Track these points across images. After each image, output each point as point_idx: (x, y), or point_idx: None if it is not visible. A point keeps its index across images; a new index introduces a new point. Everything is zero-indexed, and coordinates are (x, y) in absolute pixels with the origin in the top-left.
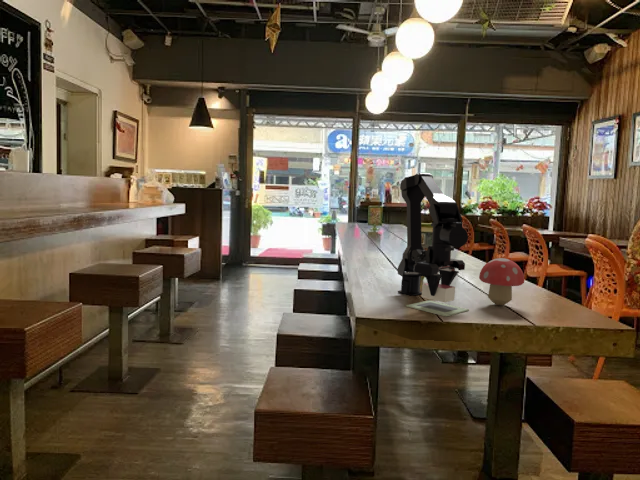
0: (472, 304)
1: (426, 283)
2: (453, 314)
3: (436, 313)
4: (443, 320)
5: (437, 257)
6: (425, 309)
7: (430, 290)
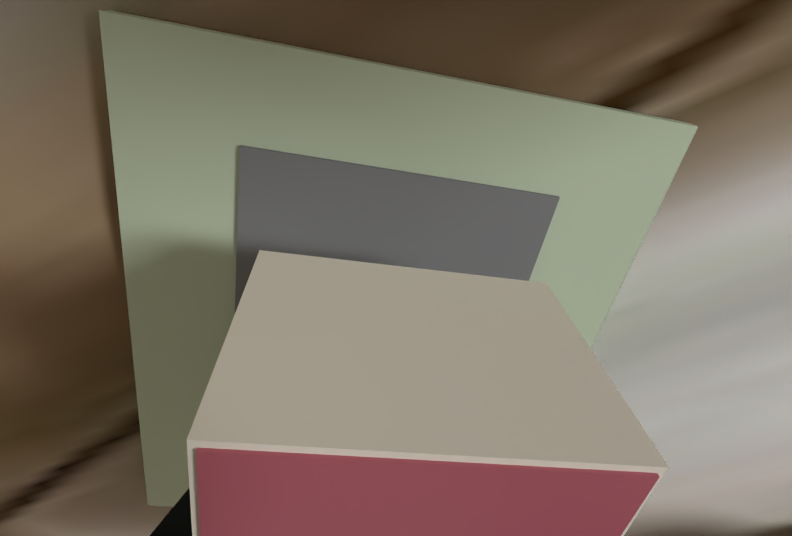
0: (766, 457)
1: (378, 465)
2: None
3: (142, 426)
4: (16, 521)
5: None
6: (149, 316)
7: (164, 531)
